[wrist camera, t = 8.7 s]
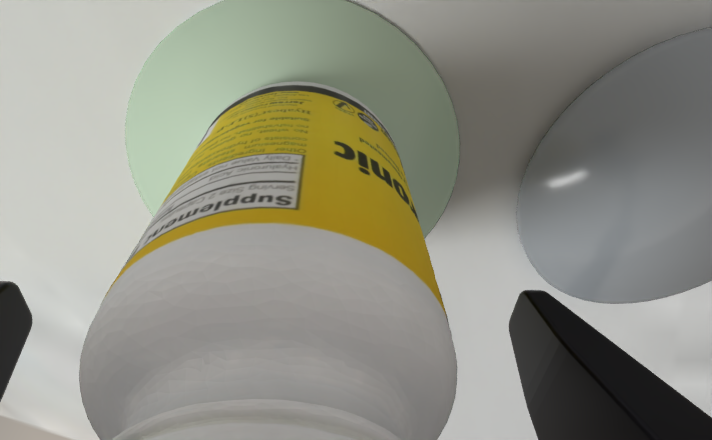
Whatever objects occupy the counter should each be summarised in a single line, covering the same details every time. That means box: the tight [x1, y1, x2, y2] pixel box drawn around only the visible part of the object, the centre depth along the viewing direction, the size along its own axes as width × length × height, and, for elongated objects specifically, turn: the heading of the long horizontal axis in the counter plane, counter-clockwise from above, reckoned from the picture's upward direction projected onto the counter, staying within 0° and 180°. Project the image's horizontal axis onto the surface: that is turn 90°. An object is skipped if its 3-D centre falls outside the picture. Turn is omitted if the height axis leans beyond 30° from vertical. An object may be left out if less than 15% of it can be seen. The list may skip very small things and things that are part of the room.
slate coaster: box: [516, 28, 712, 304], centre depth 13 cm, size 9×9×1 cm
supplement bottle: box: [79, 81, 457, 440], centre depth 8 cm, size 5×5×10 cm
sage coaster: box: [125, 0, 460, 238], centre depth 13 cm, size 9×9×1 cm
